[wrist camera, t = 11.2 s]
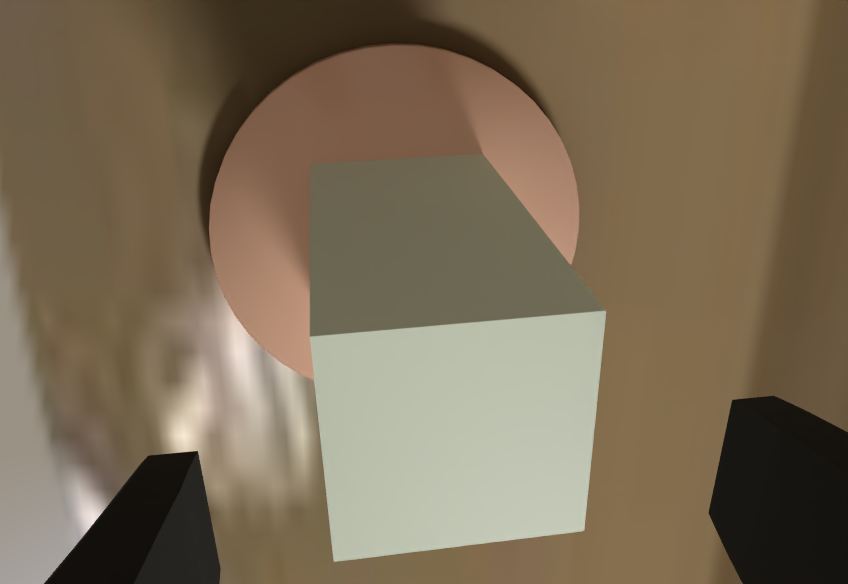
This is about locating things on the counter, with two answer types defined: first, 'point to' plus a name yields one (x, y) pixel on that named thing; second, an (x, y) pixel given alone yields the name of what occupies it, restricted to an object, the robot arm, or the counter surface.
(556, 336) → the sage peg
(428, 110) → the terracotta coaster
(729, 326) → the counter surface
